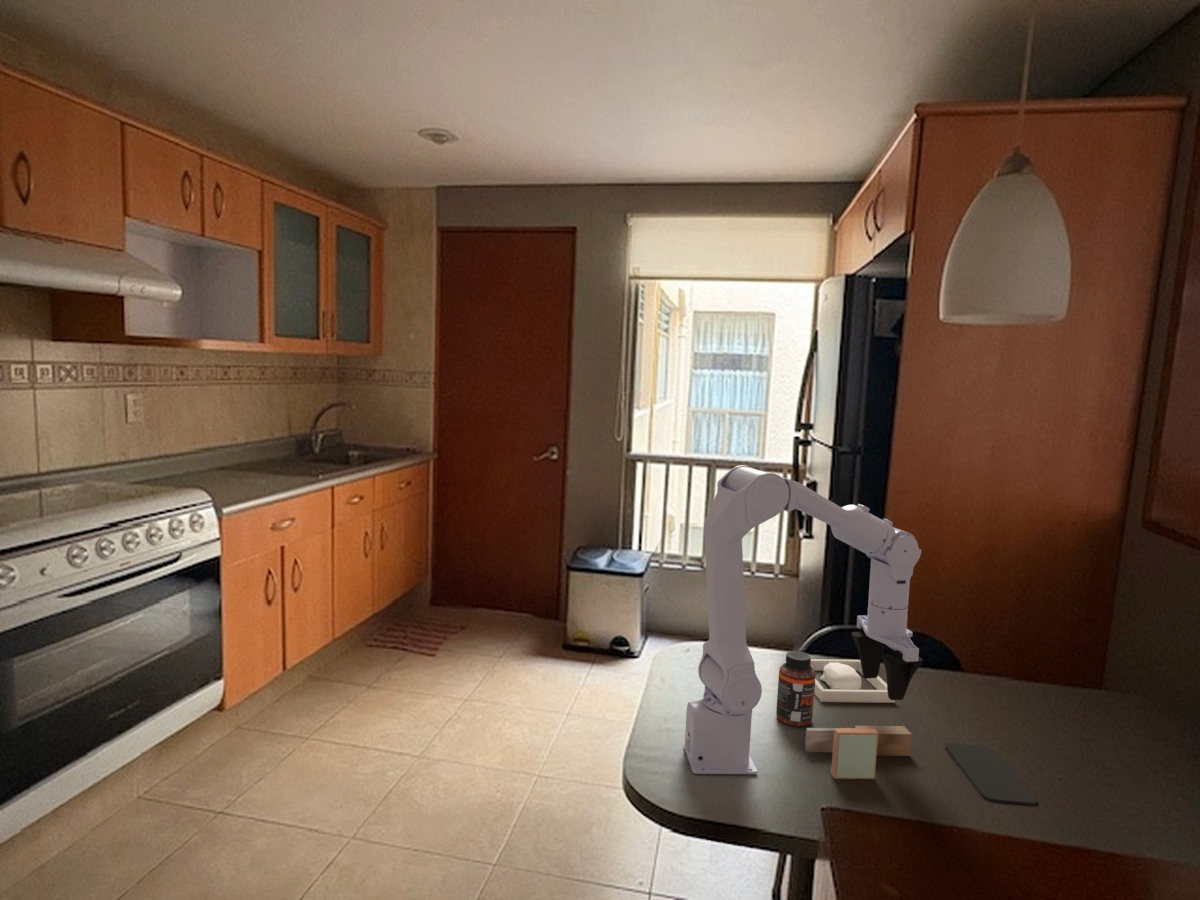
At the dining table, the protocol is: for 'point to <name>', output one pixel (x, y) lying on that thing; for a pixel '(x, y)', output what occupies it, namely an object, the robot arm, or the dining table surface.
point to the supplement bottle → (796, 690)
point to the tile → (854, 753)
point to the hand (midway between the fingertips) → (882, 687)
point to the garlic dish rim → (850, 695)
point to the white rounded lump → (841, 677)
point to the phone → (990, 774)
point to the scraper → (889, 737)
